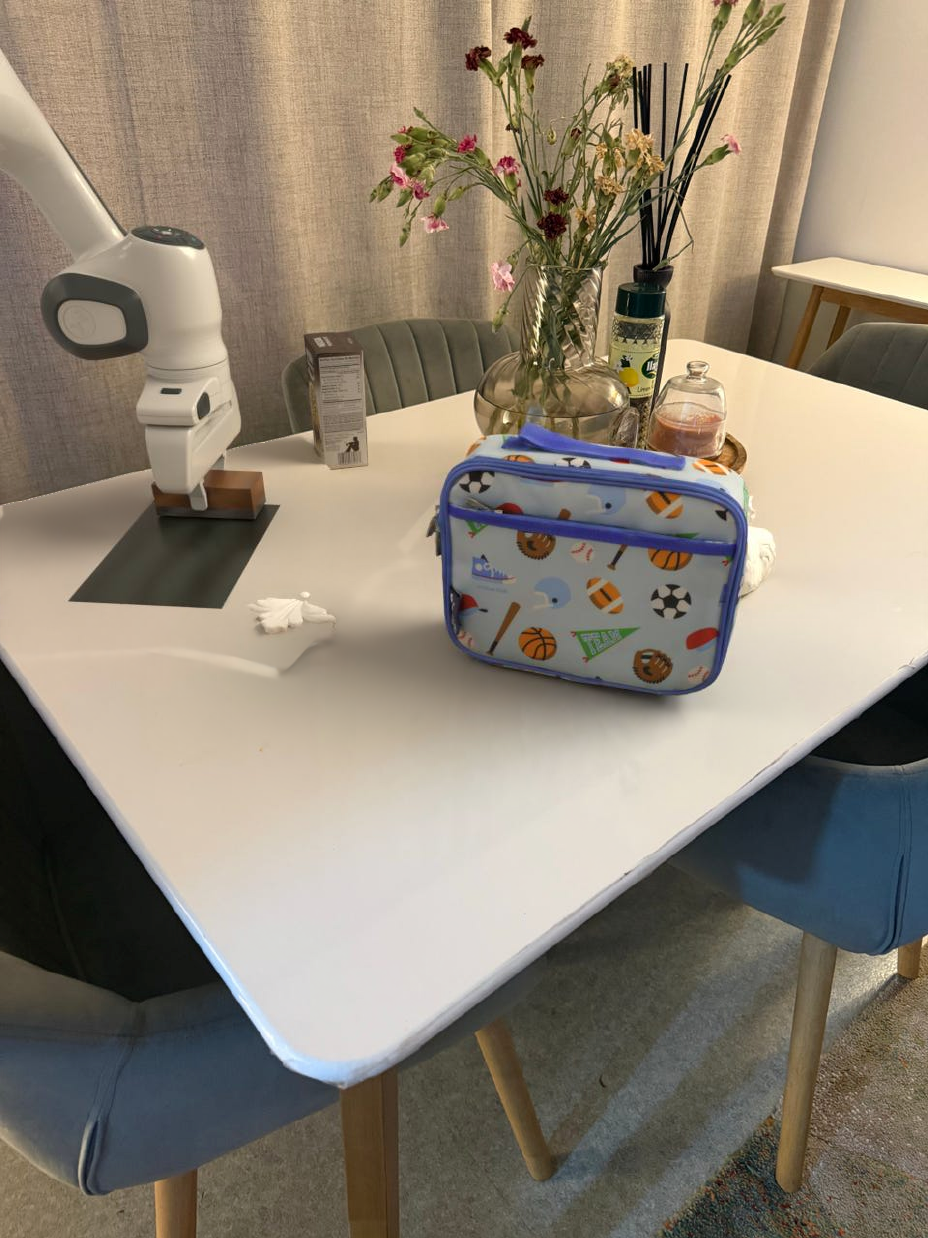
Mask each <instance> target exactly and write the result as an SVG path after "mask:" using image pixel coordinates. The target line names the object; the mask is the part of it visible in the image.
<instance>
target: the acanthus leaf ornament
mask: <svg viewBox="0 0 928 1238" xmlns="http://www.w3.org/2000/svg"><path fill="white" fill-rule="evenodd" d="M298 596H299V597H301V598H308V597H309V596H310V592H308V591H302V592H300V593H299V595H298ZM246 607H247V608H249V610H252V611H254V612H258V613H259V615H258V618H259V620H260V625H261V626H262V627H263V629H264V631H265V633H267V634H269V635H273V634H276V633H280V632H284V631H286V630H287V629H288V628H289V627H290V628H293V629H296V628H299V627H300V626H301V625H302V624H303V622H304V620H306V621H308V622H309V623H310V622H311V623H314V624H324V623H331V622H332V628H336V623H337V619H336V617H335V616H334V615H332V614H330V613H327V610H326V609H325V608H322V607H320V606H317V605H314V604H310V603H309V602H308V601H307V600H299V599H297V598H276V597H265V598H264V599H257V600H256V601H255V603H247V604H246Z"/></svg>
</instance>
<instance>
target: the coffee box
mask: <svg viewBox="0 0 928 1238" xmlns="http://www.w3.org/2000/svg"><path fill="white" fill-rule="evenodd" d="M303 341H304V342H303V343H304V351H305V362H306V363H305V364H306V372H307V382H308V391H309V402H310V413H311V424H312V434H313V444H314V448H315V451H316V453H317V455H318V457H319V458H320V459H321V461H322V463H323V465H324V466H325V465H326V467H328V469H330V470H337V469H346V468H348V469H349V468H355V467H356V468H357V467H366V466H368V465H369V452H368V451H369V449H368V448H369V447H368V431H367V429H368V428H367V409H366V407H367V406H366V385H365V369H364V368H365V367H364V352H363V348H361V345H360V344H359V343H358V341H356V339H355V338H354V336H353V335H352V334H351V333H350V331H338V332H337V331H336V332H334V331H325V332H312V333H311V332H310V333H304V334H303Z"/></svg>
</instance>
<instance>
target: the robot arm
mask: <svg viewBox="0 0 928 1238" xmlns="http://www.w3.org/2000/svg"><path fill="white" fill-rule="evenodd" d="M0 172H2V173H4V174H6V175H7V176H8V177H9V178H11V179H12V180H14V181H15V182H16V183H17V184H18V185H19V186H20V187H21V188H22V189H23V190H24V191H25V192H26V194H27V195H28V196H29V198H30V199H31V200H32V202H33V203H34V204H35V206H36V207H37V208H38V210H39V212H40V213H41V214H42V216H43V217H44V219H45V220H46V221H47V222H48V223H49V226H51V228H52V229H53V230H54V232H55V233H56V235H57V236H58V238H59V239H60V241H62V243H63V244H64V246H65V247H66V249H67V250H68V252H69V253H70V255H71V257H72V259H73V262H74V263H72V264H70V265H69V266H68V267H65V268H64V269H62V270H60V271H59V272H57V274H55V275H54V276H53V277H52V278H51V279H49V281H48V282H47V283H46V284H45V286H44V288H43V289H42V292H41V296H40V302H39V306H40V308H39V309H40V315H41V318H42V322H43V325H44V326H45V328H46V330H47V332H48V333H49V335H50V337H51V338H52V339H53V341H54V342H55V343H56V344H57V345H58V346H59V347H60V348H62V349H63V350H64V351H65V352H67V353H68V354H70V355H72V356H74V357H76V358H78V359H82V360H84V361H85V360H86V361H103V360H109V359H117V358H121V357H125V356H126V357H127V356H129V355H134V354H137V353H138V354H141V355H142V356H143V357H144V360H145V367H146V371H147V375H146V376H145V382H144V385H143V389H142V392H141V394H140V396H139V398H138V401H137V403H136V406H135V412H136V417H137V421H138V422H139V424H143V425H146V426H145V429H144V439H145V447H146V453H147V457H148V461H149V466H150V468H151V473H152V476H153V479H154V480H153V481H155V483H156V485H157V487H158V488H159V489H160V490H161V491H162V492H163V493H169V494H188V496H189V497H190V502H191V507H192V508H193V509H194V510H205V509H206V508H207V507H208V505H209V504H210V500H209V494H208V492H205V490H204V487H203V483H204V478H203V477H204V476H205V475H206V474H207V472H208V471H209V470H226V468H227V467H226V466H227V456H228V451H227V449H228V448H229V446H230V445H231V444H232V442H233V441H234V440H235V438H236V437H237V436H238V435H239V434H240V433H241V428H242V418H241V412H240V411H241V410H240V405H239V400H238V396H237V392H236V391H237V390H236V387H235V384H234V381H233V380H232V376H231V375H232V374H231V369H230V360H229V353H228V349H227V347H226V345H225V343H224V340H223V336H222V323H223V310H222V303H221V298H220V293H219V287H218V281H217V277H216V273H215V269H214V265H213V262H212V259H211V256H210V253H209V250H208V249H207V246H206V245H205V243H204V242H203V241H202V240H201V239H200V238H198V236H197V235H194V234H192V233H190V232H188V231H186V230H183V229H180V228H176V227H171V226H165V225H164V226H163V225H142V226H138V227H134V228H133V229H131V230H130V231H129V232H127V231H126V230H125V229H124V228H123V227H122V225H121V224H120V223H119V221H118V220H117V219H116V217H115V216H114V215H113V213H112V212H111V210H110V209H109V207H108V206H107V204H106V202H105V201H104V200H103V198H102V196H101V195H100V194H99V192H98V191H97V189H96V188H95V187H94V185H93V183H92V182H91V180H90V179H89V178H88V176H87V174H86V173H85V171H84V170H83V169H82V167H81V166H80V165H79V163H78V161H77V160H76V159H75V157H74V156H73V154H72V153H71V151H70V150H69V148H68V146H67V145H66V144H65V143H64V141H63V139H62V138H61V137H60V135H59V134H58V133H57V132H56V130H55V129H54V128H53V126H52V125H51V123H50V122H49V121H48V119H47V118H46V117H45V115H44V114H43V112H42V111H41V109H40V108H39V106H38V105H37V104H36V102H35V101H34V99H33V98H32V96H31V95H30V93H29V92H28V90H27V89H26V87H25V86H24V84H23V82H22V81H21V79H20V78H19V76H18V75H17V73H16V71H15V70H14V68H13V66H12V65H11V63H10V61H9V60H8V58H7V57H6V54H5V53H4V52H3V50H2V49H1V47H0Z"/></svg>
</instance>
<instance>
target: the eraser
mask: <svg viewBox="0 0 928 1238" xmlns="http://www.w3.org/2000/svg"><path fill="white" fill-rule="evenodd" d="M203 478H204V483H203V487H204V490H205V492H208V494H209V500H210V504H209V505H208V507H207V508H206V509H205V510H194V509H193V508H192V507H191V502H190V497H189V496H188V494H169V493H163V492H162V491H161V490H160V489H159V488H158V487H157V485H156V483H155V480H153V482H152V483H151V484H150V487H151V488H150V489H151V492H152V496H153V497H152V498H153V500H154V502H155V508H156V513H157V515H161V516H185V517H208V518H232V519H255V518H256V517H257V515H258V514H259V512H260V510H261V509H262V507H263V505H264V504H266V502H267V498H266V492H265V484H264V476H263V471H254V470H253V471H251V470H231V469H230V470H229V469H228V470H227V469H225V470H209V471H208V472H207V474H206V475H205V476H204V477H203Z"/></svg>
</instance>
